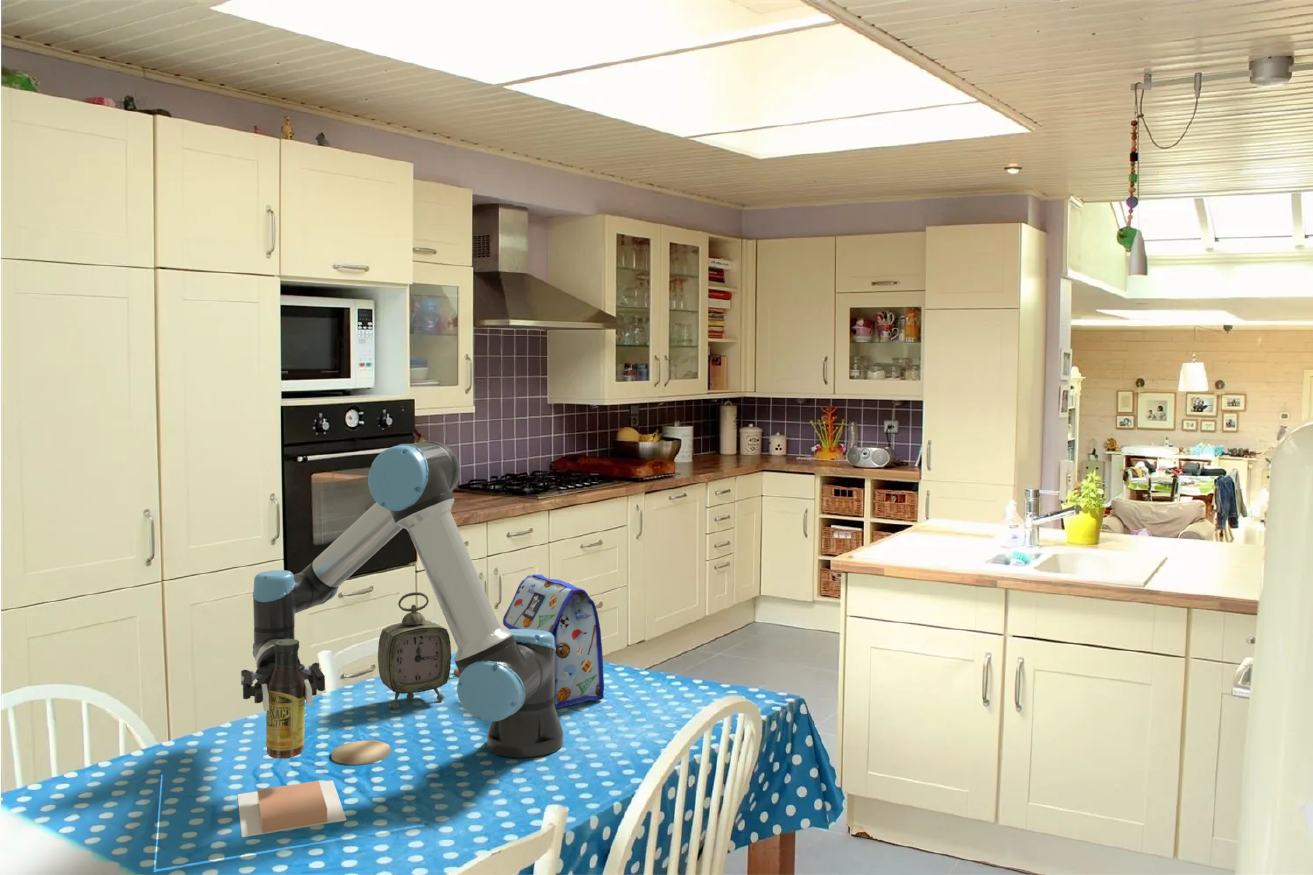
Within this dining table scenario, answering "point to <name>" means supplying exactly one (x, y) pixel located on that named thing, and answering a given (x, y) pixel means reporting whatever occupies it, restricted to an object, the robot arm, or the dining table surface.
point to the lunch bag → (563, 634)
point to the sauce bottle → (286, 703)
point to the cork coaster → (361, 752)
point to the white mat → (253, 827)
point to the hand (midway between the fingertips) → (288, 700)
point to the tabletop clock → (414, 654)
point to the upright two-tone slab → (291, 806)
